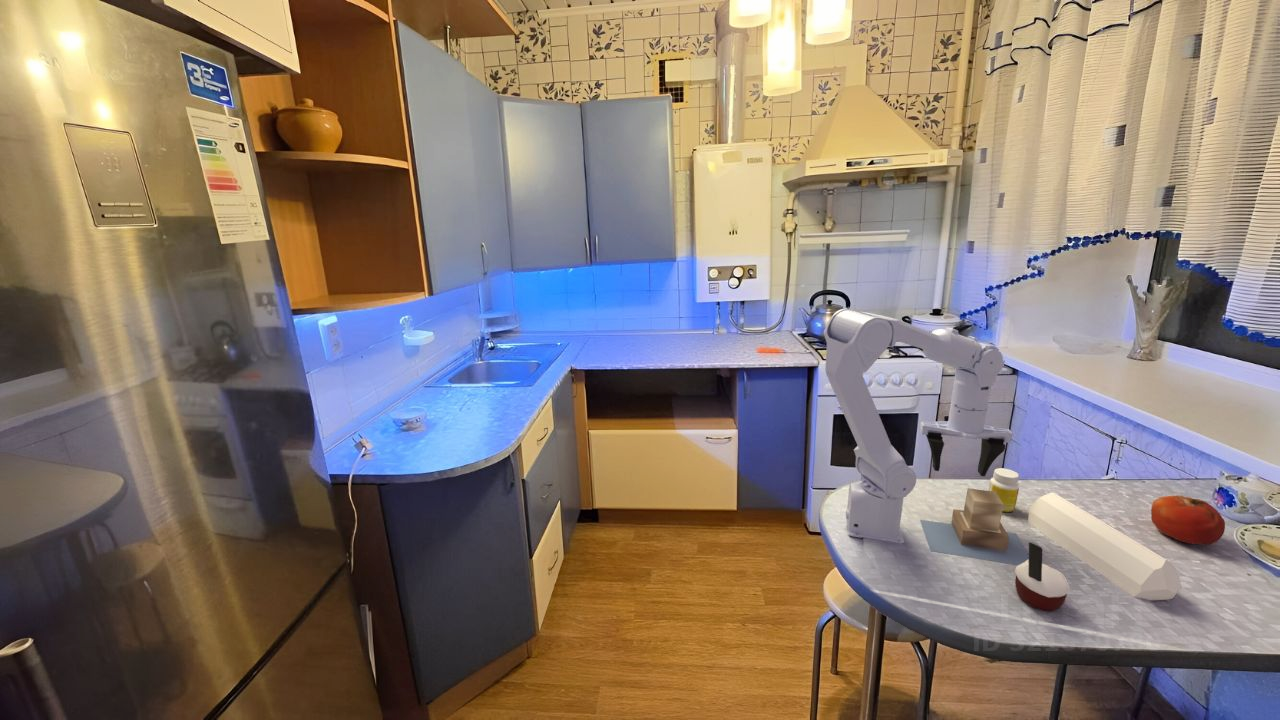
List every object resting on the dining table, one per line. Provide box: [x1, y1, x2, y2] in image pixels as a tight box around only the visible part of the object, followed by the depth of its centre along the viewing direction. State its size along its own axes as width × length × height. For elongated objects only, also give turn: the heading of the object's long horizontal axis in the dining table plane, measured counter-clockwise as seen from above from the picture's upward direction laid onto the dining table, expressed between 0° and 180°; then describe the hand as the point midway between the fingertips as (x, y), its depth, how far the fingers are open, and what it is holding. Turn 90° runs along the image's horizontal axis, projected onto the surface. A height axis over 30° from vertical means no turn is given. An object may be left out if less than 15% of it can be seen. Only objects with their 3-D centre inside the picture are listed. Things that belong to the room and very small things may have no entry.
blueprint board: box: [919, 519, 1029, 566], centre depth 90 cm, size 16×10×1 cm, turn 71°
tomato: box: [1150, 494, 1226, 546], centre depth 90 cm, size 9×9×8 cm
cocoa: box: [1014, 542, 1071, 612], centre depth 75 cm, size 10×6×12 cm, turn 97°
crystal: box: [1027, 491, 1183, 602], centre depth 86 cm, size 7×7×24 cm
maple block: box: [963, 488, 1004, 532], centre depth 90 cm, size 4×4×6 cm
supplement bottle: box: [987, 467, 1020, 516], centre depth 99 cm, size 5×5×8 cm
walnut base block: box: [950, 508, 1009, 551], centre depth 91 cm, size 7×7×3 cm
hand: (958, 471), depth 96 cm, fingers open, 7 cm apart
